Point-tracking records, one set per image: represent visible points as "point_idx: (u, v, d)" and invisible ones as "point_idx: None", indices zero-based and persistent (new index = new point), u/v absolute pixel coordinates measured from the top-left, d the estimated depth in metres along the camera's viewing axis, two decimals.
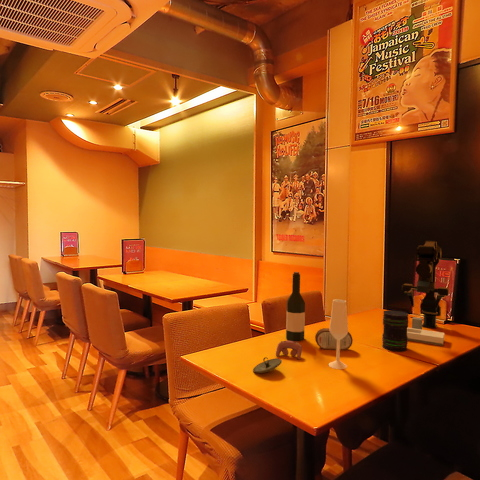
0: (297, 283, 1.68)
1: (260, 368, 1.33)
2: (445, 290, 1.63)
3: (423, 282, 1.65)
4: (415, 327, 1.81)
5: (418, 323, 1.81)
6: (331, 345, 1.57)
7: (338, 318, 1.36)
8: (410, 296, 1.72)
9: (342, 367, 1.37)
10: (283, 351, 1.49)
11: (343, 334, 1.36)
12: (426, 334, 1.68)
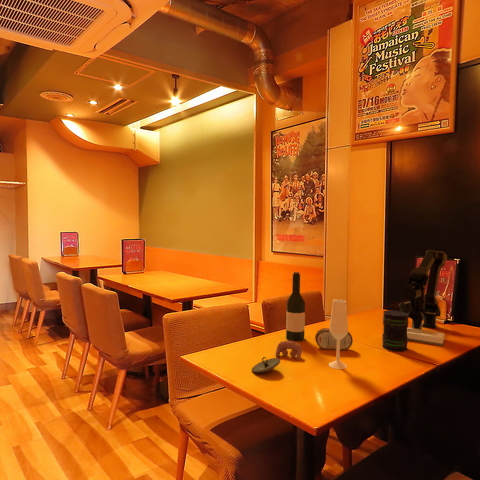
0: (297, 283, 1.68)
1: (259, 368, 1.34)
2: (409, 312, 1.77)
3: (406, 302, 1.85)
4: None
5: None
6: (331, 345, 1.57)
7: (338, 318, 1.36)
8: None
9: (342, 367, 1.37)
10: (283, 351, 1.49)
11: (343, 334, 1.36)
12: (426, 334, 1.68)
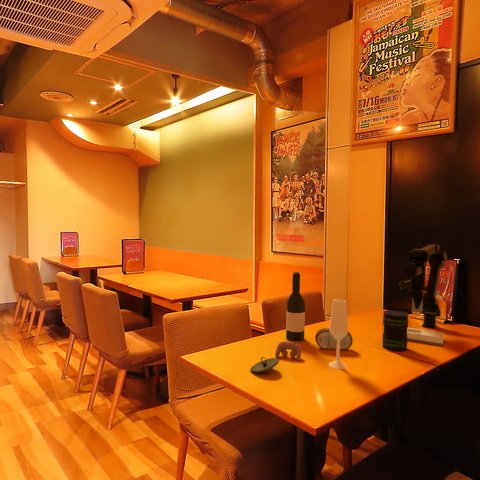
0: (297, 283, 1.68)
1: (257, 368, 1.34)
2: (409, 290, 1.75)
3: (406, 281, 1.84)
4: None
5: None
6: (331, 345, 1.57)
7: (338, 318, 1.36)
8: None
9: (342, 367, 1.37)
10: (282, 352, 1.48)
11: (343, 334, 1.36)
12: (426, 334, 1.68)
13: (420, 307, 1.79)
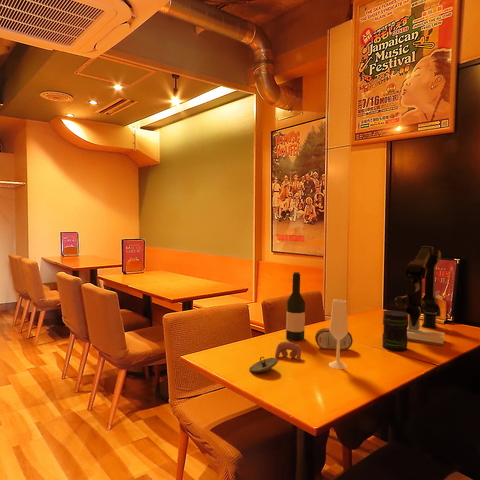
0: (297, 283, 1.68)
1: (257, 367, 1.34)
2: (405, 307, 1.67)
3: (403, 296, 1.76)
4: None
5: None
6: (331, 345, 1.57)
7: (338, 318, 1.36)
8: None
9: (342, 367, 1.37)
10: (282, 352, 1.48)
11: (343, 334, 1.36)
12: (426, 334, 1.68)
13: (417, 324, 1.71)
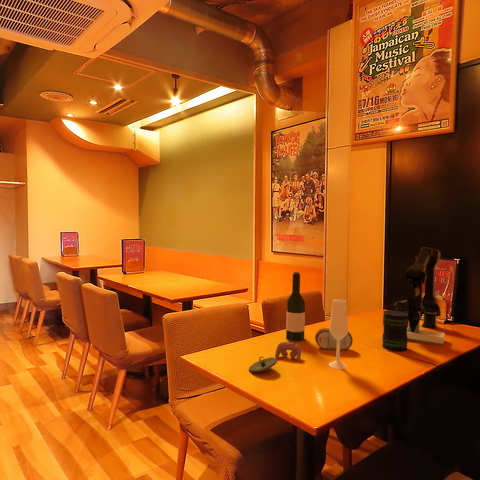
0: (297, 283, 1.68)
1: (256, 367, 1.34)
2: None
3: (402, 301, 1.76)
4: None
5: None
6: (331, 345, 1.57)
7: (338, 318, 1.36)
8: None
9: (342, 367, 1.37)
10: (282, 353, 1.48)
11: (343, 334, 1.36)
12: (426, 334, 1.68)
13: (417, 332, 1.71)
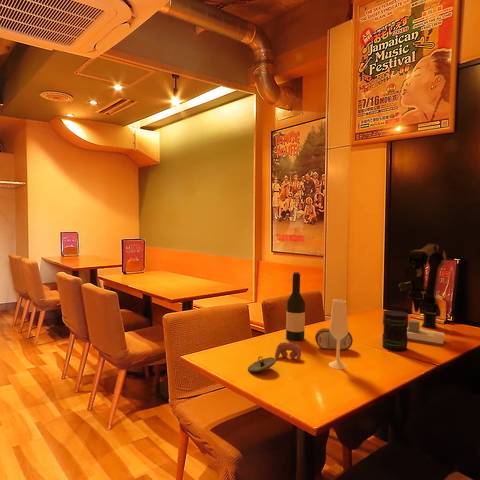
0: (297, 283, 1.68)
1: (255, 367, 1.34)
2: (409, 292, 1.75)
3: (406, 282, 1.83)
4: (412, 330, 1.72)
5: (415, 326, 1.71)
6: (331, 345, 1.57)
7: (338, 318, 1.36)
8: None
9: (342, 367, 1.37)
10: (282, 353, 1.47)
11: (343, 334, 1.36)
12: (426, 334, 1.68)
13: (417, 332, 1.71)
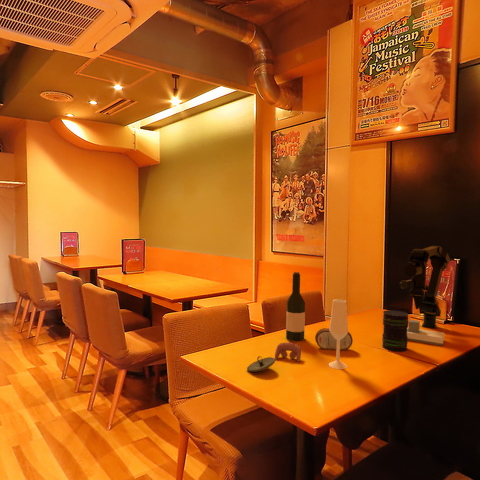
0: (297, 283, 1.68)
1: (254, 367, 1.34)
2: (410, 289, 1.78)
3: (407, 280, 1.86)
4: (412, 330, 1.72)
5: (415, 326, 1.71)
6: (331, 345, 1.57)
7: (338, 318, 1.36)
8: None
9: (342, 367, 1.37)
10: (282, 353, 1.47)
11: (343, 334, 1.36)
12: (426, 334, 1.68)
13: (417, 332, 1.71)
